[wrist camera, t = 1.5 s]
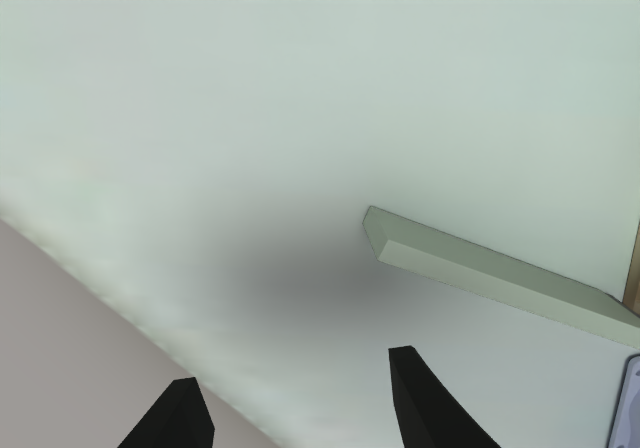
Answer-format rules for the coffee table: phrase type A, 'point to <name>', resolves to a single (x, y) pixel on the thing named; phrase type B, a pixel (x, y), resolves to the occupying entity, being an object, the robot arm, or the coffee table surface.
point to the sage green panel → (499, 277)
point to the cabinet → (634, 280)
